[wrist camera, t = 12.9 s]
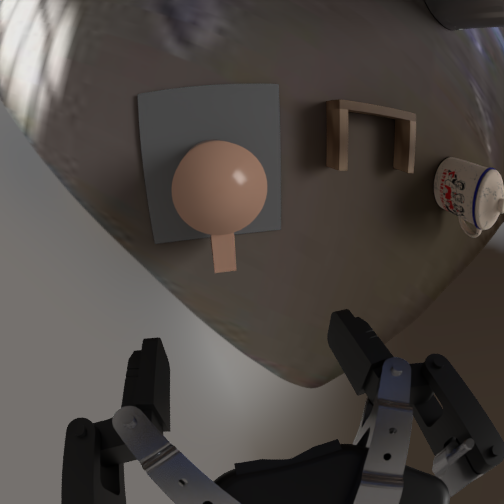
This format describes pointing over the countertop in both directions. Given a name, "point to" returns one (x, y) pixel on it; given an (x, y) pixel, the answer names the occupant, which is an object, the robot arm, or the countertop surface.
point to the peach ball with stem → (219, 194)
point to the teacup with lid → (469, 193)
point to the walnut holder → (403, 119)
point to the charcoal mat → (201, 129)
